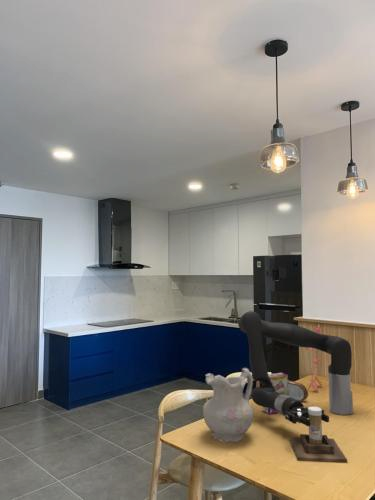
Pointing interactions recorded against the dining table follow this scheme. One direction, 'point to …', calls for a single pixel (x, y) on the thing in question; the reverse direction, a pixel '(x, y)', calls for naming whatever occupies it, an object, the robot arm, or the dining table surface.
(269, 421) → the dining table surface
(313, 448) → the walnut stand
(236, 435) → the ceramic pitcher
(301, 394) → the grey brown oval slab
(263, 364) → the robot arm
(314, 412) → the spice jar
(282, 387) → the candy bar box
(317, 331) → the pink branching piece
